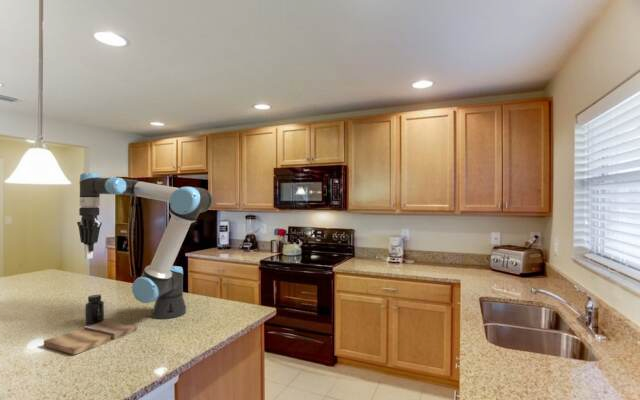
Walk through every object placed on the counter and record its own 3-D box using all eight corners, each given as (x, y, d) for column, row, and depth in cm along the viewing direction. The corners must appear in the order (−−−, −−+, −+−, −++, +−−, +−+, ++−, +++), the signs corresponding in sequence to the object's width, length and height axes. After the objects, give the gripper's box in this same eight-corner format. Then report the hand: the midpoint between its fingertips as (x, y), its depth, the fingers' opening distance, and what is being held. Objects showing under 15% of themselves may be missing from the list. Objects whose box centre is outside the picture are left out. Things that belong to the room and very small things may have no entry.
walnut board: (107, 324, 143) (107, 318, 143) (136, 330, 137) (136, 324, 137) (84, 332, 134) (84, 326, 134) (114, 339, 128) (114, 333, 128)
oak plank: (81, 333, 133) (81, 328, 133) (110, 340, 126) (110, 335, 126) (43, 346, 121) (43, 340, 121) (74, 354, 114) (74, 349, 114)
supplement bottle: (102, 318, 150) (102, 292, 150) (105, 322, 145) (105, 296, 145) (83, 322, 145) (84, 295, 145) (86, 326, 140) (87, 299, 140)
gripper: (71, 206, 147) (70, 258, 147) (91, 207, 143) (90, 260, 142) (87, 206, 154) (87, 256, 154) (107, 207, 150) (106, 258, 149)
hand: (88, 258), depth 148 cm, fingers closed
